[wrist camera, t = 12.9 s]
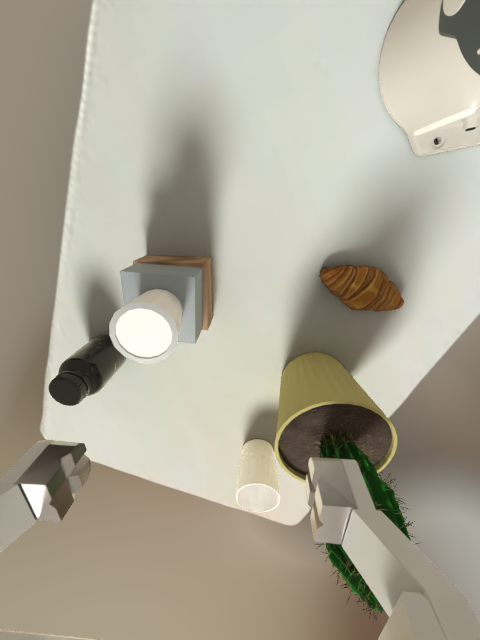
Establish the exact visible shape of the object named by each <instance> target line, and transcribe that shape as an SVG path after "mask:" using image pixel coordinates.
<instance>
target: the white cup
mask: <svg viewBox="0 0 480 640" xmlns="http://www.w3.org/2000/svg"><path fill="white" fill-rule="evenodd" d="M236 500H237V502H238V504H239V505H240V506H241V507H243V508H244V509H246V510H249V511H253V512H266V511H270V510H272V509H274V508H276V507H277V506H278V504H279V503H280V491H279V483H278V474H277V468H276V461H275V456H274V450H273V446H272V445H271V444H270V443H269V442H267V441H264V440H261V439H253V440H250V441H248V442H247V443H245V444H244V445H243V448H242V453H241V459H240V466H239V473H238V482H237V490H236Z"/></svg>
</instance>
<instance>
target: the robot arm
mask: <svg viewBox="0 0 480 640" xmlns="http://www.w3.org/2000/svg"><path fill="white" fill-rule="evenodd" d="M379 85H380V91H381V96H382V99H383V102H384V105H385V107H386V109H387V111H388V112H389V114H390V116H391V117H392V118H393V119H394V120H395V122H397V123H398V124H399V125H400V126H401V127H402V128H403V129H404V130H405V132H406V133H407V135H408V139H409V142H410V145H411V147H412V150H413V151H414V153H415V154H416V155H418V156H425V155H430V154H435V153H440V152H445V151H450V150H455V149H460V148H465V147H470V146H475V145H480V0H405V1H404V3H403V4H402V5H401V7H400V8H399V10H398V12H397V13H396V15H395V17H394V19H393V21H392V23H391V25H390V27H389V30H388V32H387V35H386V37H385V41H384V44H383V48H382V52H381V57H380V64H379ZM435 138H437V140H438V142H437V144H436V145H435V144H434V139H435ZM85 452H86V447H85V444H84V443H74V442H63V441H51V440H40V441H39V442H37V443H35V444H34V445H33V446H32V447H31V449H30V450H29V451H28V452H27V453H26V454H25V455H24V456H23V457H22V458H21V459H20V460H19V461H18V462H17V463H16V464H15V466H13V468H12V469H11V470H10V471H9V472H8V473H7V474H6V475H5V476H4V477H3V478H2V479H1V480H0V552H2V551H3V550H4V549H5V548H6V547H7V546H9V545H10V544H11V543H12V542H13V541H14V540H16V539H17V538H18V537H19V536H20V535H21V534H23V533H24V532H25V531H26V530H27V529H29V528H30V527H31V526H32V525H33V524H34V523H36V520H41V521H62V520H63V518H64V516H65V515H66V513H67V512H68V510H69V508H70V507H71V505H72V503H73V502H74V493H76V492H77V491H78V490H80V489H81V488H82V487H83V486H84V484H85V482H86V481H87V479H88V476H89V473H90V470H91V463H90V459H89V458H88V457H87V456H86V455H84V453H85ZM308 465H309V472H308V473H307V475H306V495H307V502H308V504H309V506H310V507H311V508H312V512H311V517H310V519H311V525H312V530H313V536H314V541H315V542H324V543H333V544H342V547H343V549H344V550H345V552H346V553H347V555H348V556H349V558H350V559H351V561H352V562H353V564H354V565H355V567H356V568H357V570H358V571H359V573H360V574H361V576H362V577H363V579H364V580H365V582H366V583H367V585H368V586H369V588H370V589H371V591H372V592H373V594H374V595H375V597H376V598H377V600H378V601H379V603H380V604H381V606H382V607H383V608H384V610H385V611H386V613H387V614H388V616H389V619H388V621H387V623H386V625H385V627H384V629H383V631H382V633H381V634H380V636H379V638H378V640H480V624H479V622H478V620H477V618H476V616H475V614H474V613H473V611H472V609H471V607H470V605H469V603H468V601H467V599H466V597H465V596H464V595H463V594H462V593H461V592H460V590H459V589H458V588H457V587H455V585H454V584H453V583H451V581H450V580H449V579H448V578H447V577H446V576H445V575H444V574H443V573H442V572H441V571H440V570H439V569H438V568H437V567H436V566H435V565H434V564H433V563H432V562H431V561H430V560H429V559H428V558H427V557H426V556H425V555H424V554H423V553H422V552H421V551H420V550H419V549H418V548H417V547H416V546H415V545H414V544H413V543H412V542H411V541H410V540H409V539H408V538H407V537H406V536H405V535H404V534H403V533H402V532H401V531H400V530H399V529H398V528H397V527H396V526H395V525H394V524H393V522H392V521H391V520H390V519H389V518H388V517H387V516H386V515H385V514H384V513H383V512H382V511H379V510H376V509H375V506H374V504H373V501H372V499H371V496H370V494H369V491H368V489H367V486H366V484H365V481H364V479H363V476H362V474H361V471H360V469H359V466H358V464H357V462H356V461H355V460H349V459H338V458H318V457H310V459H309V463H308ZM0 640H99V639H87V638H79V637H69V636H59V635H49V634H39V633H29V632H19V631H10V630H0Z"/></svg>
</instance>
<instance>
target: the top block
mask: <svg viewBox="0 0 480 640" xmlns="http://www.w3.org/2000/svg"><path fill="white" fill-rule="evenodd" d="M120 275H121V283H122V291H123V298H124V305H125V304H127V303H129V302H130V301H132V300H134V299H135V298H137V297H139V296H140V295H142V294H144V293H145V292H147V291H149V290H154V289H161V290H167V291H168V292H170V293H172V294H174V295H175V296H176V297H177V299H178V300H179V301H180V303H181V306H182V309H183V312H182V321H181V327H180V333H179V339H178V342H184V343H196V341H197V339H198V337H199V334H200V332H201V330H202V328H203V268H200V267H186V266H173V265H160V264H146V263H136V264H134V265H132V266H130V267H128V268H126V269H124V270H122V271H120Z"/></svg>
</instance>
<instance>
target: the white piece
mask: <svg viewBox="0 0 480 640" xmlns="http://www.w3.org/2000/svg"><path fill="white" fill-rule="evenodd" d="M182 312H183V309H182V306H181V303H180V301H179V300H178V299H177V297H176V296H175V295H174V294H172V293H170V292H168V291H167V290H161V289H154V290H149V291H147V292H145V293H144V294H142V295H140V296H139V297H137V298H135V299H134V300H132V301H130V302H129V303H127V304H125V305H124V306H123V307H121V308H120V309H119V310H117V311H116V312H115V313H114V315H113V317H112V319H111V321H110V323H109V336H110V338H111V340H112V342H113V345H114V347H115V348H116V349H117V350H118V351H119V352H120V353H121V354H122V355H123V356H124V357H127V358H129V359H131V360H133V361H135V362H140V363H148V364H150V363H155V362H159V361H162V360H164V359H165V358H167V357H168V356H170V355H171V354H172V353H173V351H174V350H175V348H176V346H177V345H178V339H179V333H180V327H181V321H182Z"/></svg>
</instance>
